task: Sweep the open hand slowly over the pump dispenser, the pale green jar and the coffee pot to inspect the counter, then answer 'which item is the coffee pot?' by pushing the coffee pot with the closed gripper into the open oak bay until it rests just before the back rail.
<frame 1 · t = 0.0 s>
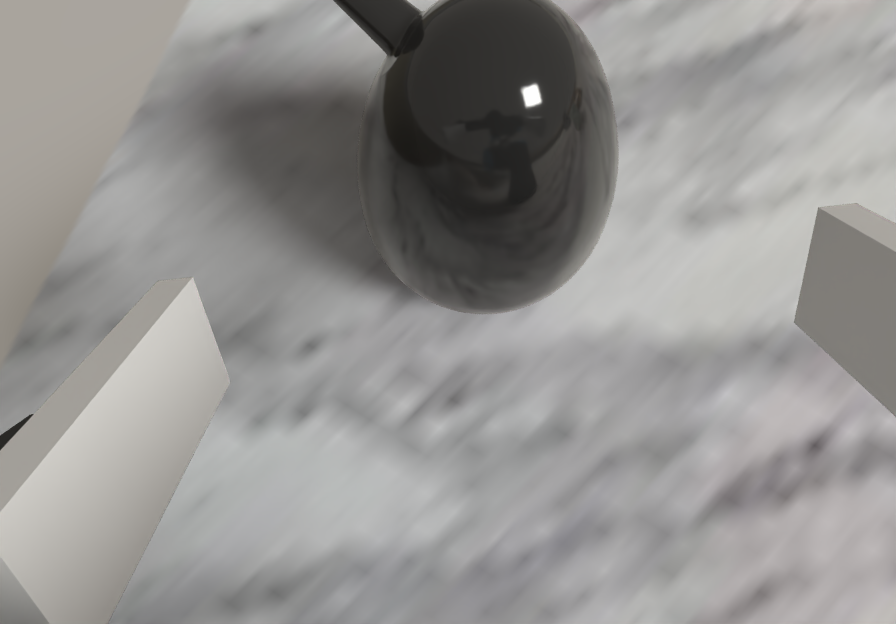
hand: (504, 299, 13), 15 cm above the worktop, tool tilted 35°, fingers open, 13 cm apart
pump dispenser: (480, 219, 29), on the worktop
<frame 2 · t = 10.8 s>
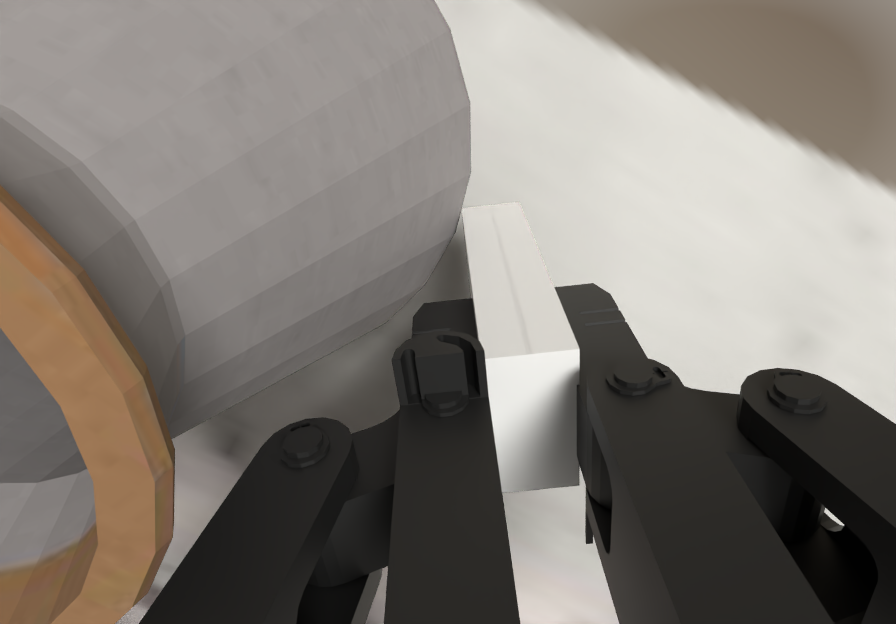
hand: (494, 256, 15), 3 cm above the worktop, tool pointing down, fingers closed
coffee pot: (185, 255, 18), on the worktop, touching gripper, hand
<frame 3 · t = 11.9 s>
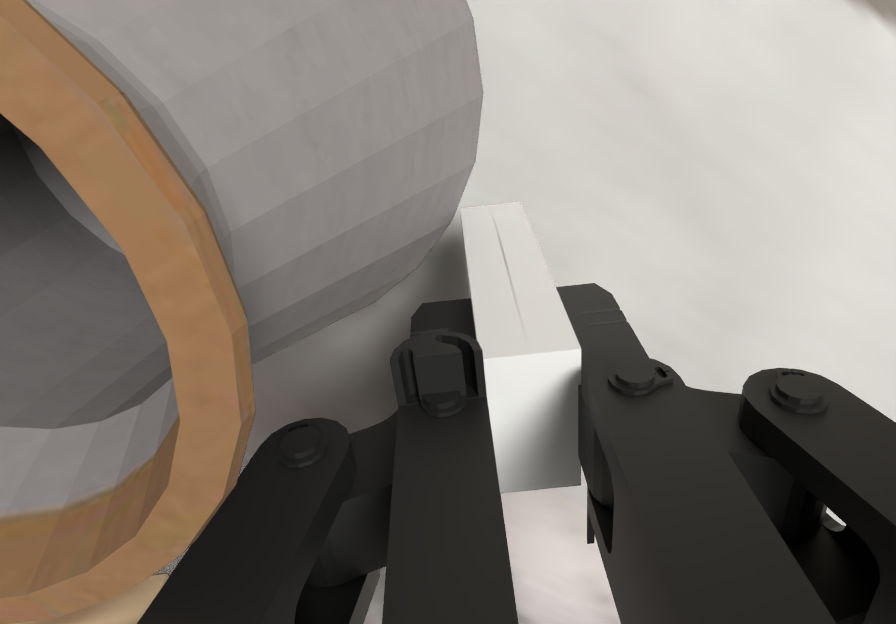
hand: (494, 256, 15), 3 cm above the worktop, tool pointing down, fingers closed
coffee pot: (163, 215, 17), on the worktop
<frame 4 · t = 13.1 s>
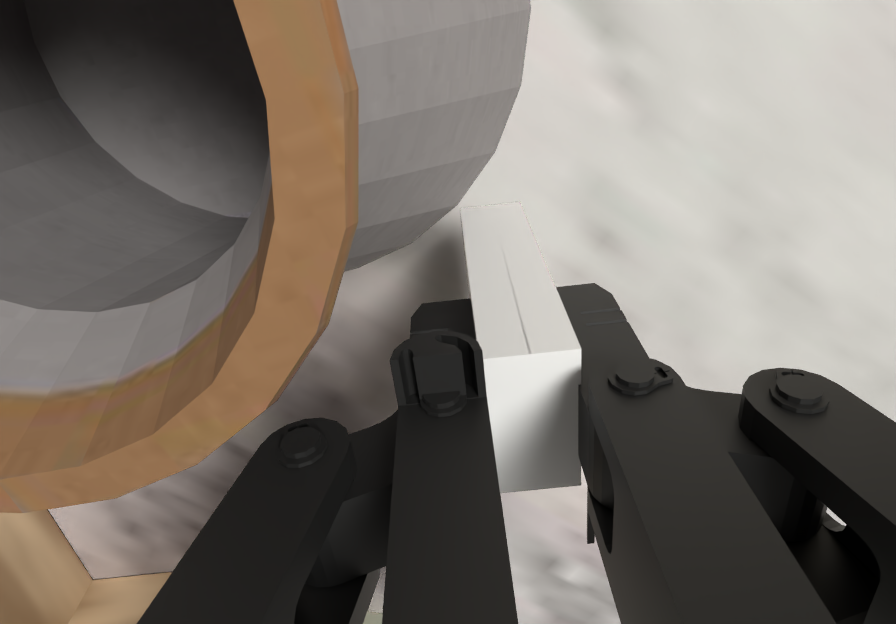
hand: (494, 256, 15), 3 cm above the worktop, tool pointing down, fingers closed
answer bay: (29, 272, 18), on the worktop
coffee pot: (147, 128, 16), on the worktop, touching gripper
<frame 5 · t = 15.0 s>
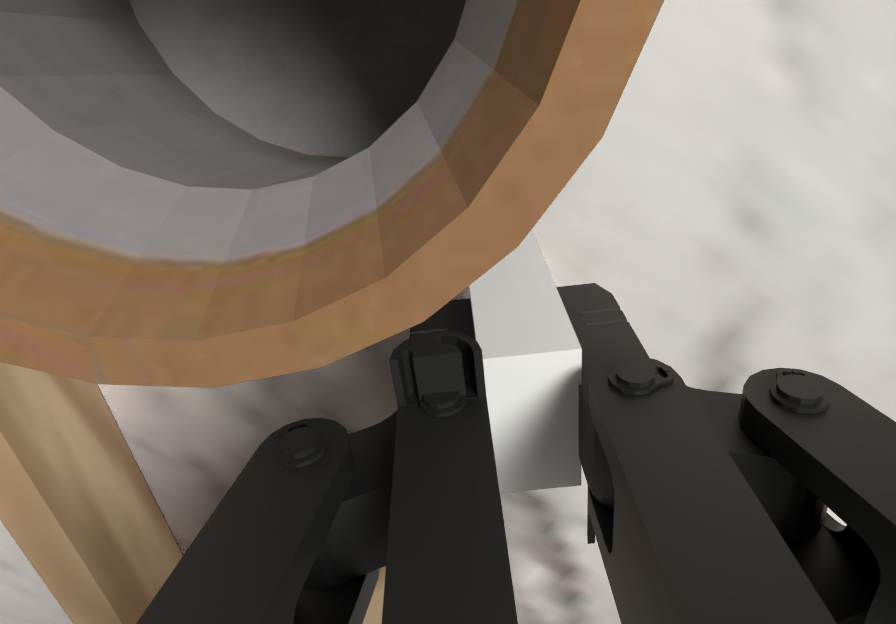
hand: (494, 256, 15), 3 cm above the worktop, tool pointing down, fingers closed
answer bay: (167, 250, 17), on the worktop
coffee pot: (174, 30, 15), on the worktop, touching gripper
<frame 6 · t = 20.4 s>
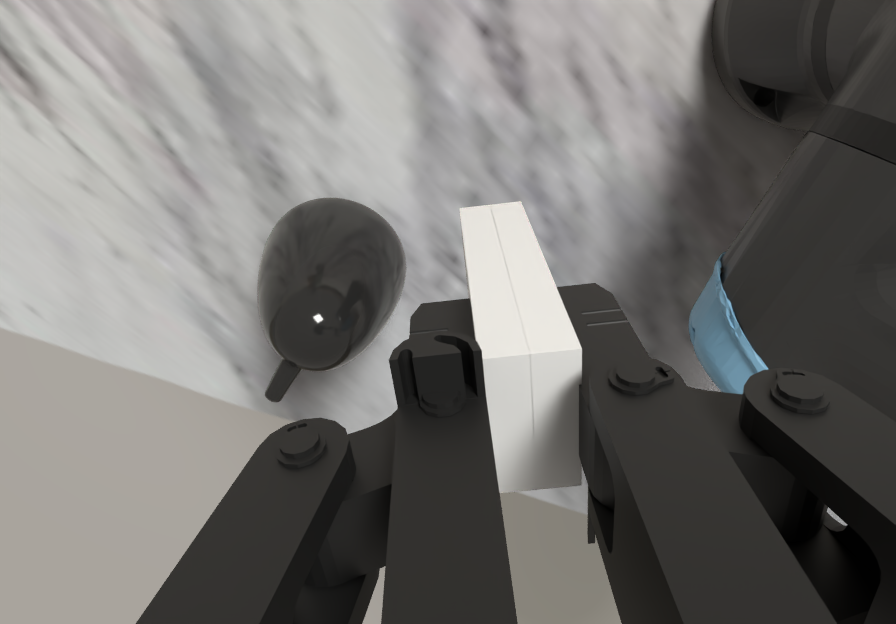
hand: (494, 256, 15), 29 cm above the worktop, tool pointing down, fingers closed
pump dispenser: (343, 245, 46), on the worktop
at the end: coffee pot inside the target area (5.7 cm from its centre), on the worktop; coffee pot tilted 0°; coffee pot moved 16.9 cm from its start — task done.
